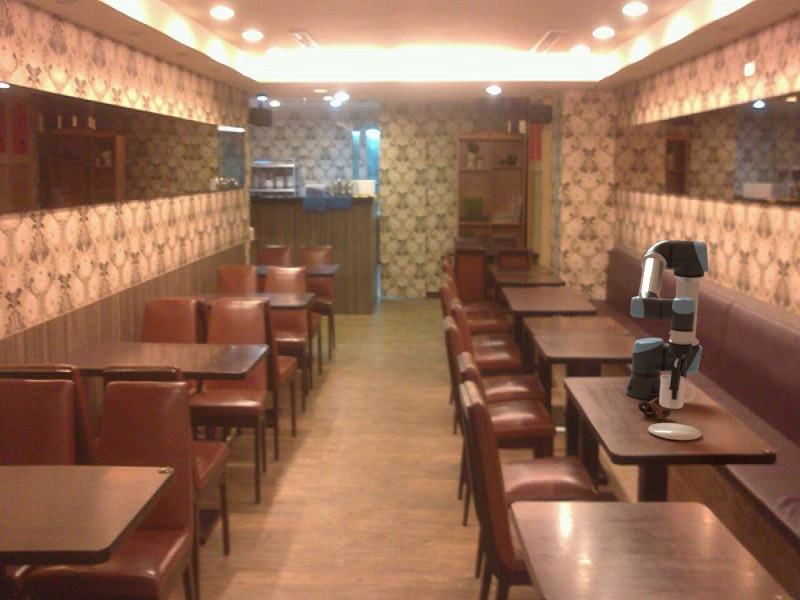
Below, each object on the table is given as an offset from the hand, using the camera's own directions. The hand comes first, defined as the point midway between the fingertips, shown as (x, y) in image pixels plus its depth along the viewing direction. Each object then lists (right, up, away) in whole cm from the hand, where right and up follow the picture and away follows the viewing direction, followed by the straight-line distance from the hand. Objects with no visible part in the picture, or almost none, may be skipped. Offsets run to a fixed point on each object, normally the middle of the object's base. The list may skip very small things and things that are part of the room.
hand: (676, 405), depth 326 cm
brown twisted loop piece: (-2, -7, +22) cm, 24 cm away
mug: (0, -1, 0) cm, 1 cm away
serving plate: (0, -10, +2) cm, 10 cm away
